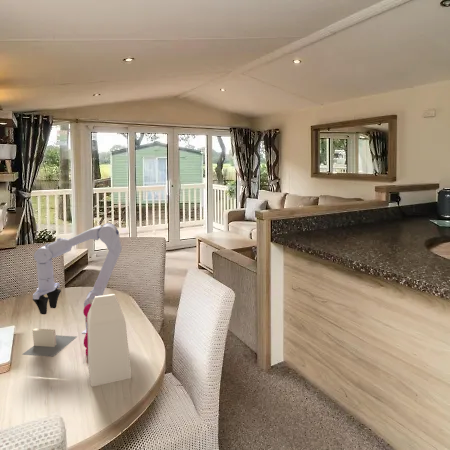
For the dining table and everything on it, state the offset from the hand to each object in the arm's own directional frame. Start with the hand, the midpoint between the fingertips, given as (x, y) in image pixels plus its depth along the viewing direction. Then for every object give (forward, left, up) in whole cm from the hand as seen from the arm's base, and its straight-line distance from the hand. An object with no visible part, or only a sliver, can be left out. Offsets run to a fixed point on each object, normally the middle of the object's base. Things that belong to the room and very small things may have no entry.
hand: (48, 310), depth 151 cm
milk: (-36, +24, -10) cm, 44 cm away
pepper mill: (-25, +12, -10) cm, 30 cm away
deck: (-4, +9, -10) cm, 14 cm away
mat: (-6, +9, -10) cm, 15 cm away
